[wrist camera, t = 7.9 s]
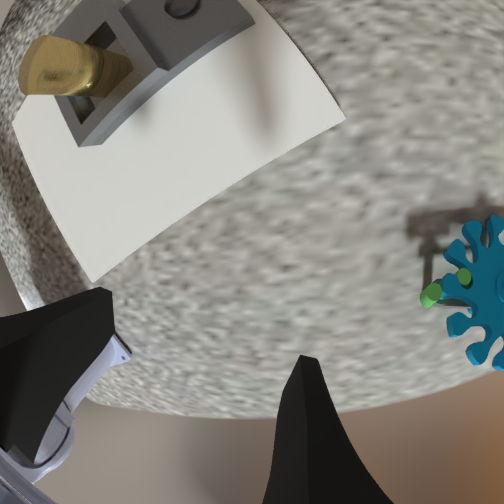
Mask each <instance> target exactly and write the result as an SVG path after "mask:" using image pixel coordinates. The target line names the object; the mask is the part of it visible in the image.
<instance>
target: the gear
mask: <svg viewBox="0 0 504 504" xmlns="http://www.w3.org/2000/svg"><path fill="white" fill-rule="evenodd" d="M486 227H487V230H488V234H489V243H488V247H487V248H485V247H484V246H483V245H482V244H481V242H480V236H481V233H482V226H481V224H480V222H479V221H477V220H472V221H468V222H466V223H465V225H464V226H463V227H462V234H463V236H464V238H465V239H466V240H467V241H468V243H469V245H470V247H471V249H472V253H473V263H470V262H469V261H468V260H467V258H466V254H465V247H464V244H463V243H462V242H461V241H460V240H459V239H456V240H454V241H453V242H452V243H451V245H450V246H449V247H448V248H447V250H446V251H445V252H444V254H443V255H444V258H445V259H446V260H447V261H448V262H449V263H451V264H453V265H455V266H456V267H458V268H459V270H458V271H457V272H456V273H455V274H452V273H447V274H446V275H445V276H444V277H443V278H442V279H436V280H435V281H433V282H432V283H431V284H429V285H428V286H427V287H426V288H425V289H424V290H423V291H422V292H421V294H420V301H421V303H422V305H423V307H424V308H429V307H430V306H432V305H433V306H435V307H448V308H468V312H469V313H470V314H472V317H471V318H468V317H467V316H466V315H464V314H463V313H460V312H457V313H454V314H453V315H451V316H449V317H448V318H447V321H446V324H447V331H448V334H449V337H457V336H460V335H462V334H463V333H465V331H466V330H467V329H469V328H470V327H471V326H481V327H483V328H484V329H485V332H486V336H485V339H484V341H483V342H477V343H473V344H471V345H469V346H468V347H467V349H466V351H465V352H466V355H467V357H468V359H469V360H470V362H471V363H472V364H473V365H480V364H482V363H484V362H485V360H486V359H487V356H488V353H489V350H490V348H491V346H492V344H493V343H494V342H495V340H496V339H497V338H499V337H500V336H501V337H502V338H503V340H504V245H502V244H501V243H500V241H499V238H498V235H499V234H500V233H501V232H502V231H503V230H504V220H503V219H501V218H500V217H498V216H495V215H492V216H491V217H490V218H489V219H488V221H487V223H486ZM492 367H493V368H494V369H496V370H500V371H504V346H503V348H502V350H501V351H500V352H499V353H497V354H496V355H495V357H494V359H493V362H492Z"/></svg>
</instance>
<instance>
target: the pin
mask: <svg viewBox="0 0 504 504" xmlns="http://www.w3.org/2000/svg"><path fill="white" fill-rule="evenodd" d="M132 71H133V66H132V62H131V60H130V59H129V58H128V57H126V56H124V55H121V54H118V53H115V52H112V51H109V50H105V49H102V48H98V47H95V46H91V45H88V44H84V43H80V42H76V41H72V40H68V39H63V38H59V37H54V36H49V35H43V36H41V37H39V38H38V39H36V40H35V41H34V42H33V43H32V45H31V46H30V47H29V49H28V50H27V52H26V54H25V56H24V58H23V60H22V63H21V66H20V70H19V78H18V81H19V88H20V90H21V92H22V93H23V94H25V95H70V96H87V97H99V98H106V97H107V96H108V95H109V94H110V93H111V91H112V90H113V89H114V88H115V87H116V86H117V85H118V84H119V83H120V82H121V81H123V80H124V79H125V78H126V77H127V76H128V75H129V74H130V73H131V72H132Z"/></svg>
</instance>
